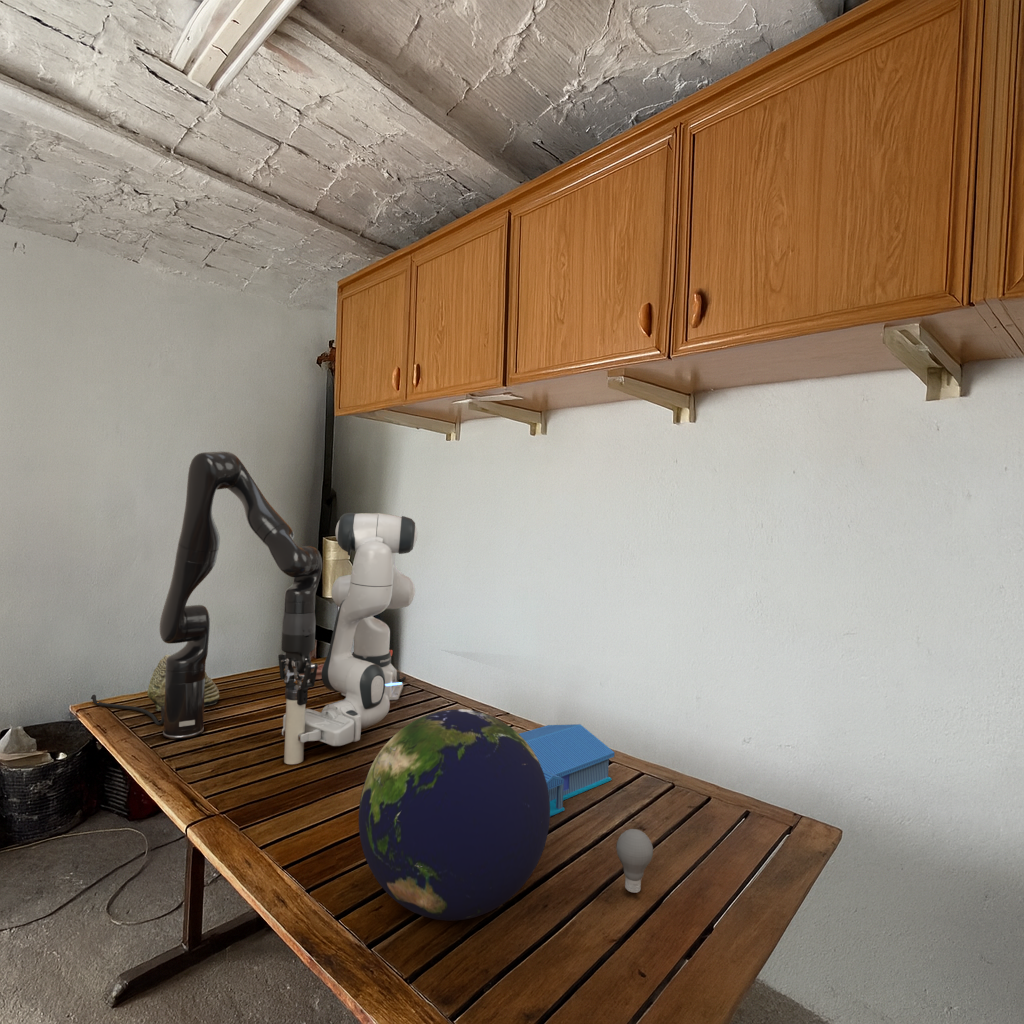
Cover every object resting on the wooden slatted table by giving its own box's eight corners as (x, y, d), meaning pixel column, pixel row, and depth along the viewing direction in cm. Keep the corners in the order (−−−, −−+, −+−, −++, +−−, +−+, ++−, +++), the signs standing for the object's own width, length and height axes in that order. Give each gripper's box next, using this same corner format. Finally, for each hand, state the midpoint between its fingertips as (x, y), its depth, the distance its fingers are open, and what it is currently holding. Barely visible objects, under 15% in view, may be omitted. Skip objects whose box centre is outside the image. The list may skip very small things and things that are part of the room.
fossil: (144, 707, 182) (145, 655, 182) (212, 696, 194) (213, 647, 194) (151, 716, 175) (153, 662, 175) (221, 703, 188) (223, 653, 188)
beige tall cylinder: (279, 761, 150) (282, 690, 150) (294, 755, 154) (296, 685, 154) (293, 766, 148) (295, 693, 148) (307, 759, 152) (310, 688, 152)
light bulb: (610, 879, 108) (613, 822, 108) (644, 879, 109) (647, 822, 109) (619, 902, 102) (622, 840, 102) (655, 901, 103) (658, 840, 103)
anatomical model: (285, 666, 217) (303, 658, 228) (285, 677, 217) (303, 669, 228) (321, 670, 214) (337, 661, 225) (321, 681, 214) (337, 673, 225)
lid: (280, 697, 150) (280, 688, 150) (296, 692, 154) (297, 683, 154) (295, 701, 148) (295, 692, 147) (311, 696, 152) (311, 686, 152)
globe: (312, 931, 92) (320, 727, 92) (418, 834, 120) (424, 677, 120) (501, 1001, 81) (511, 769, 81) (569, 876, 109) (577, 703, 108)
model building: (493, 841, 119) (496, 788, 119) (420, 792, 137) (422, 747, 137) (623, 784, 145) (625, 741, 145) (547, 750, 164) (548, 712, 163)
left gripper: (268, 627, 152) (266, 697, 153) (300, 637, 143) (297, 712, 143) (297, 623, 158) (294, 691, 158) (329, 633, 149) (326, 705, 149)
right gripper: (310, 699, 167) (264, 713, 156) (365, 716, 156) (320, 732, 145) (309, 723, 168) (263, 738, 156) (364, 742, 157) (319, 759, 145)
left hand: (296, 701), depth 151 cm, fingers closed on lid, 4 cm apart
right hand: (291, 735), depth 150 cm, fingers closed on beige tall cylinder, 4 cm apart
